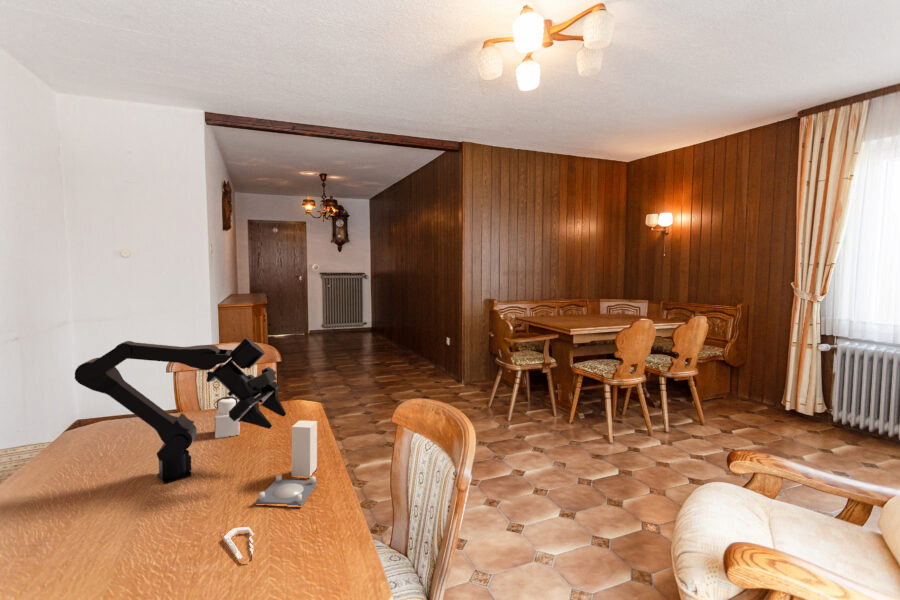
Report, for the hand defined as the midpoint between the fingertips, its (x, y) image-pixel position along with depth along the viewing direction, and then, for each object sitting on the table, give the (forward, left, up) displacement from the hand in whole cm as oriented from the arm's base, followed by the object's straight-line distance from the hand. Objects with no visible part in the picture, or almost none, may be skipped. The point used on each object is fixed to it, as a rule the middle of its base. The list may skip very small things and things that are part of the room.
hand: (278, 421), depth 121 cm
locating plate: (-4, -13, -14) cm, 20 cm away
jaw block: (+4, -6, -14) cm, 16 cm away
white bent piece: (-20, -25, -15) cm, 36 cm away
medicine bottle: (+2, +38, -14) cm, 40 cm away
